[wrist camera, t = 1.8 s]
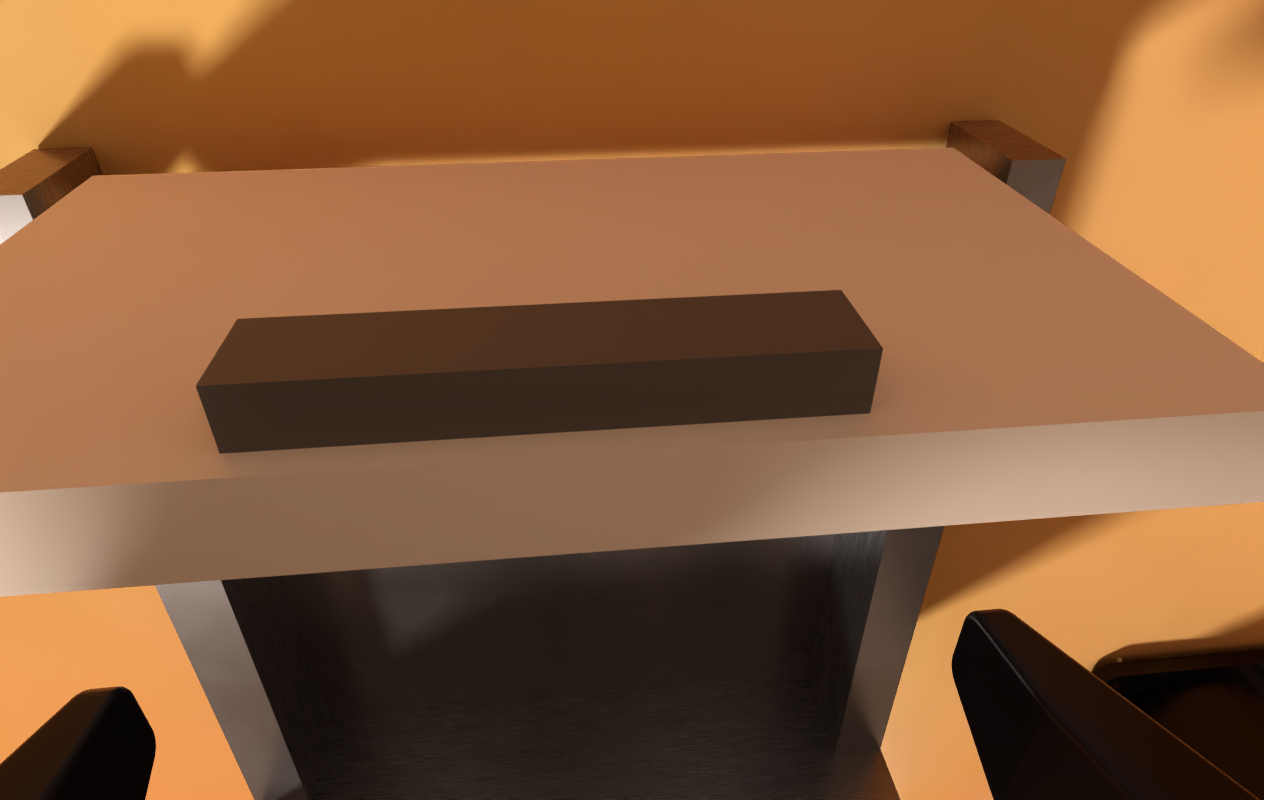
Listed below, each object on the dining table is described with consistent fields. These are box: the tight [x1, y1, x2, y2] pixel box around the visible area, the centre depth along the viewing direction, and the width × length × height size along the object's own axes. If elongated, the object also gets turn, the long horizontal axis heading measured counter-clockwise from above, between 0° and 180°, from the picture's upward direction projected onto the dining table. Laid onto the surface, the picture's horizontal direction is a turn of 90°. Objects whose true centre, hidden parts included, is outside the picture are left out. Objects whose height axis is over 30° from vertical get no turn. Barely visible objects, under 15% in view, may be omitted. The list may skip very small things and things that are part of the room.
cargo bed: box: [0, 121, 1066, 800], centre depth 13 cm, size 14×15×7 cm
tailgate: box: [0, 148, 1264, 597], centre depth 9 cm, size 2×12×7 cm, turn 90°
